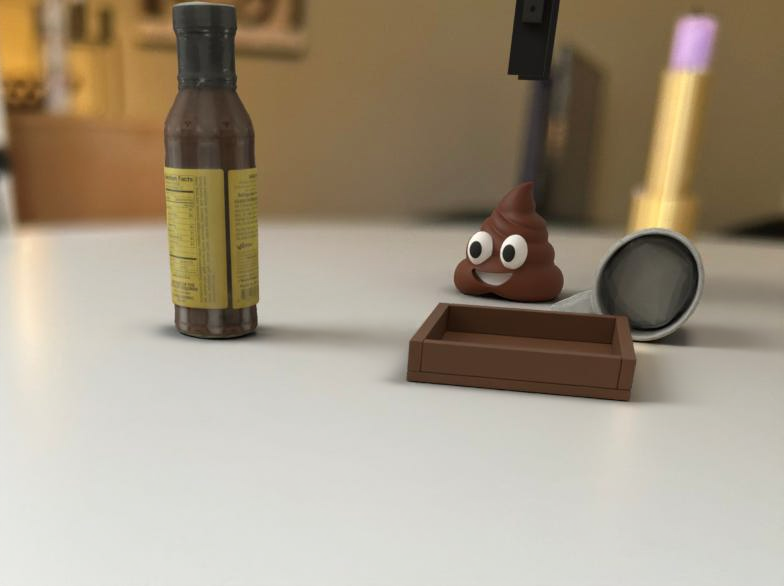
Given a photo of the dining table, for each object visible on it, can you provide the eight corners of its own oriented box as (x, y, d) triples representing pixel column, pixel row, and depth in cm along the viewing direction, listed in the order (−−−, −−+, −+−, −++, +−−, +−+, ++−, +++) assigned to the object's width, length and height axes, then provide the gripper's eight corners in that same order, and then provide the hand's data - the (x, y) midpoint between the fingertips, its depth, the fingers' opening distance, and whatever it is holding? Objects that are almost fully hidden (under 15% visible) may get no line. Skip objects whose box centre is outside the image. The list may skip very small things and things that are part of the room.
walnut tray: (621, 351, 70) (627, 316, 69) (629, 401, 58) (636, 359, 57) (436, 336, 72) (439, 302, 71) (406, 380, 60) (409, 340, 59)
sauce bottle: (244, 321, 75) (244, 10, 66) (270, 338, 70) (275, 4, 61) (160, 324, 73) (149, 4, 64) (181, 342, 68) (172, -3, 59)
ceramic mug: (690, 326, 79) (710, 221, 75) (692, 345, 72) (714, 231, 68) (554, 316, 82) (567, 215, 78) (543, 334, 75) (557, 224, 71)
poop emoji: (575, 295, 91) (592, 183, 86) (538, 307, 85) (555, 187, 80) (475, 282, 96) (487, 176, 91) (434, 293, 89) (444, 179, 85)
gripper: (528, -210, 83) (495, 80, 94) (509, -321, 62) (469, 70, 72) (621, -211, 82) (577, 83, 92) (633, -326, 61) (574, 74, 71)
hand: (529, 78), depth 82 cm, fingers open, 13 cm apart
